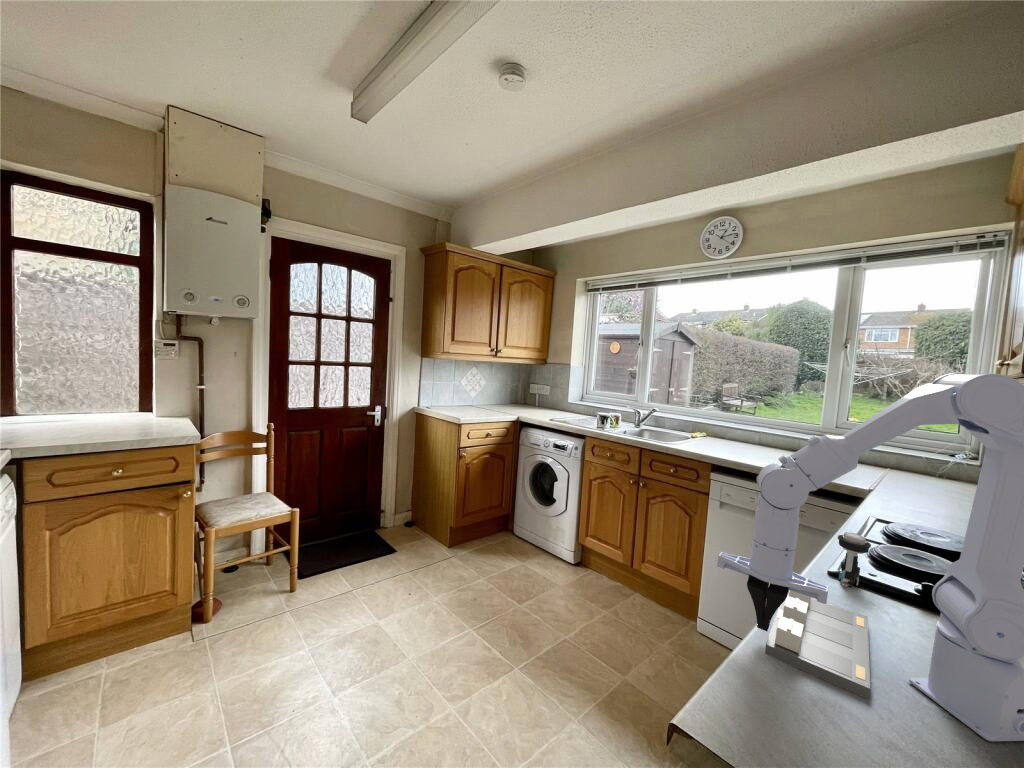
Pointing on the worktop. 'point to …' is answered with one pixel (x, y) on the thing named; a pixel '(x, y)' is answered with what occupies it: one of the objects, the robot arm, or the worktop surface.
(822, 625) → the switch plate
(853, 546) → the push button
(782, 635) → the near tab
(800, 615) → the middle tab
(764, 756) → the worktop surface
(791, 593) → the far tab
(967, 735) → the worktop surface
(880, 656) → the worktop surface
